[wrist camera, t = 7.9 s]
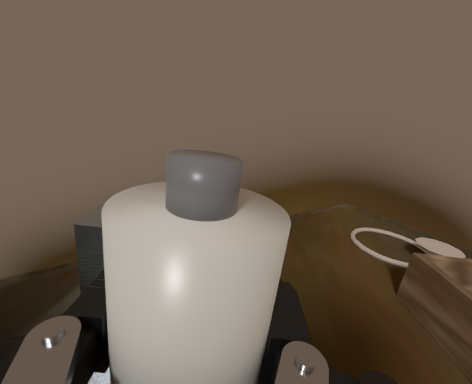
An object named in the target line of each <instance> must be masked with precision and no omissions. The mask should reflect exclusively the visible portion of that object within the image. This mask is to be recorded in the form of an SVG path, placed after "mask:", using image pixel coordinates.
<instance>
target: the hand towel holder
mask: <svg viewBox="0 0 472 384" xmlns="http://www.w3.org/2000/svg"><path fill="white" fill-rule="evenodd" d="M358 232H376V233H381V234H385V235H389V236H392V237H395V238H398V239H400V240H403V241H405V242H407V243H409V244H411V245H413V246H415V247H417V248H418V249H420V250H421V251H423V252H424V253H425V254H430V255H439V256H448V257H456V258H465V257H466V256H465V255H464V254H463V253H462V251H460V250H458V249H456V248H454V247H453V246H451V245H449V244H446V243H443V242H440V241H437V240H434V239H428V238H422V237H421V238H417V239H416V241H417V242H415V241H413V240H411V239H408V238H406V237H403V236H401V235H398V234H395V233H392V232H389V231H385V230H380V229H374V228H358V229H355V230H354V231H352V233H351V234H350V235H351V240H352V241H353V243H354V244H355V245H356V246H357V247H359V248H360V249H361V250H363V251H364V252H366V253H367V254H369V255H371V256H373V257H375V258H377V259H379V260H381V261H384V262H387V263H389V264H392V265H396V266H399V267H403V268H407V266H408V264H409V263H405V262H401V261H397V260H394V259H391V258H388V257H385V256H383V255H380V254H378V253H376V252H374V251H372V250H370V249H368V248H367V247H365V246H363V245H362V244H361V243H360V242H358V241H357V240H356V238H355V234H356V233H358Z"/></svg>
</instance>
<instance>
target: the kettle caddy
mask: <svg viewBox="0 0 472 384" xmlns="http://www.w3.org/2000/svg"><path fill="white" fill-rule="evenodd" d="M396 295H397V297H398V298H399V299H400V300H401V301H402V302H403V304H404V305H405V306H406V307H407V308H408V309H409V311H410V312H411V313H412V314H413V315H414V316H415V318H416V319H417V320H418V321H419V322H420V323H421V325H422V326H423V327H424V328H425V329H426V330H427V332H428V333H429V334H430V335H431V336H432V338H433V339H434V340H435V341H436V342H437V343H438V345H439V346H440V347H441V348H442V349H443V350H444V352H445V353H446V354H447V355H448V356H449V357H450V359H451V360H452V361H453V362H454V363H455V364H456V366H457V367H458V368H459V369H460V370H461V371H462V373H463V374H464V375H465V376H466V377H467V378H468V380H469V381H470V382H471V383H472V259H465V258H456V257H448V256H439V255H430V254H422V253H413V254H412V256H411V259H410V261H409V264H408V266H407V269H406V272H405V274H404V277H403V279H402V282H401V284H400V287H399V289H398V292H397V294H396Z"/></svg>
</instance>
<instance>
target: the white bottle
mask: <svg viewBox="0 0 472 384" xmlns="http://www.w3.org/2000/svg"><path fill="white" fill-rule="evenodd" d="M242 169H243V161H242V160H241V159H239V158H237V157H234V156H231V155H227V154H222V153H215V152H208V151H197V150H180V151H172V152H169V153H168V154H167V173H166V181H165V182H156V183H149V184H144V185H139V186H135V187H132V188H129V189H126V190H124V191H121V192H119V193H117V194H116V195H114V196H112V197H111V198H110V199H108V201H107V202H106V203H105V204H104V206H103V208H102V213H101V217H102V236H103V255H104V273H105V292H106V311H107V329H108V348H109V367H110V384H258V379H259V375H260V370H261V365H262V360H263V356H264V351H265V346H266V341H267V337H268V332H269V327H270V322H271V318H272V313H273V308H274V303H275V299H276V294H277V289H278V284H279V279H280V275H281V270H282V265H283V260H284V256H285V251H286V246H287V241H288V237H289V232H290V227H291V221H290V217H289V215H288V214H287V212H286V211H285V210H284V209H283V208H282V207H281V206H280V205H278V204H277V203H276V202H274V201H272V200H271V199H269V198H267V197H265V196H263V195H260V194H257V193H255V192H252V191H249V190H246V189H243V188H240V184H241V177H242Z"/></svg>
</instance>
